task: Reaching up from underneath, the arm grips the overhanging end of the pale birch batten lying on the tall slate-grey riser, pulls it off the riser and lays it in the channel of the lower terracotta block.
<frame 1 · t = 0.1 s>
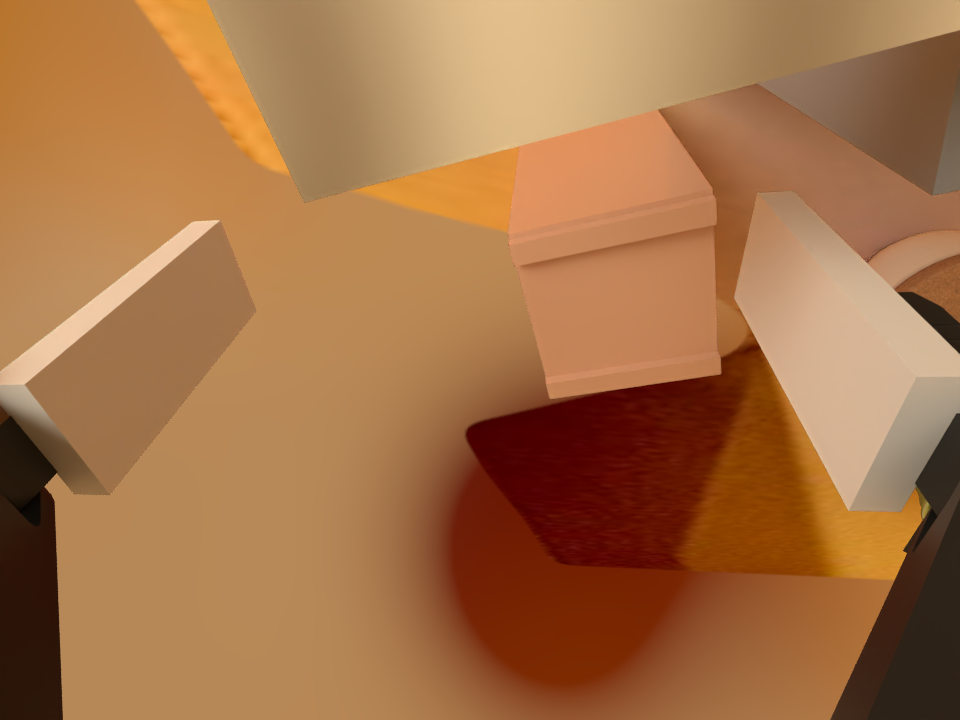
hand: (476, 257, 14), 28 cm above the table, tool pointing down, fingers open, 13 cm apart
terracotta cradle: (590, 166, 39), on the table
lidded jar: (900, 272, 42), on the table
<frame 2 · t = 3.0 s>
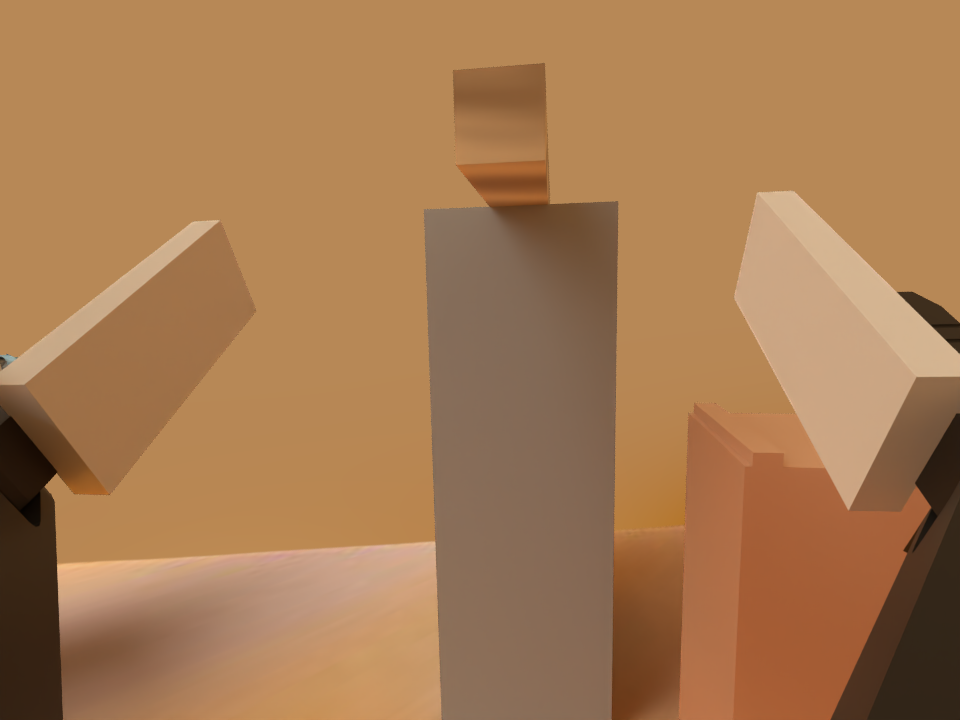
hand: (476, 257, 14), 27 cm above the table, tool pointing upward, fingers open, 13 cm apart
slate riser: (530, 640, 40), on the table
birch batten: (522, 213, 31), point 30 cm above the table, touching slate riser
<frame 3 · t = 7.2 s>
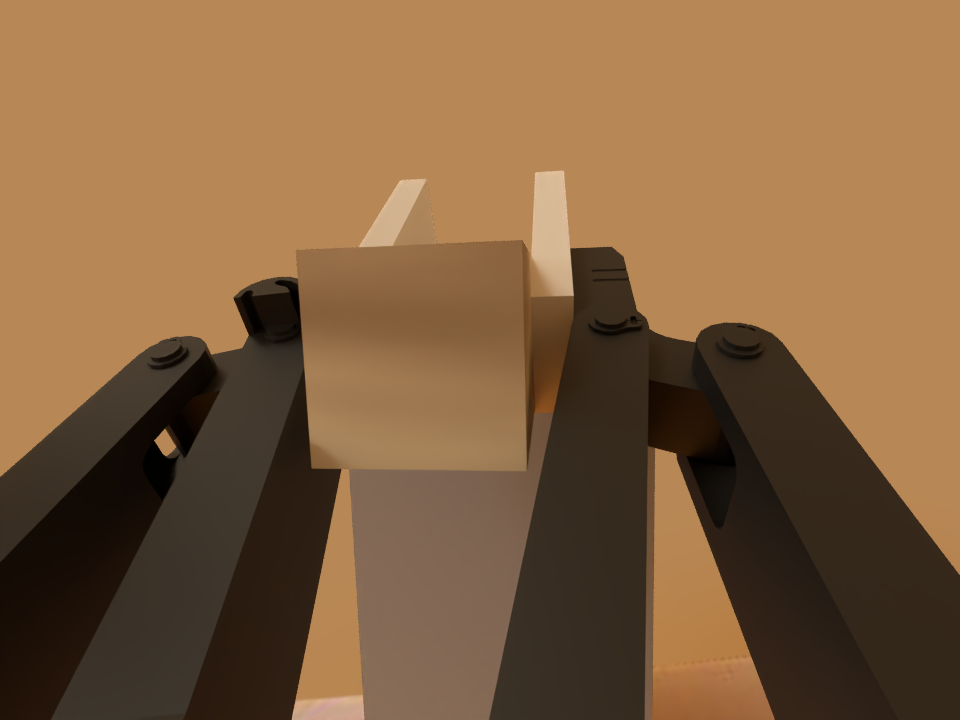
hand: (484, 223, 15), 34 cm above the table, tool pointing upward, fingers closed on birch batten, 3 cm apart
birch batten: (501, 356, 20), point 30 cm above the table, touching gripper, slate riser
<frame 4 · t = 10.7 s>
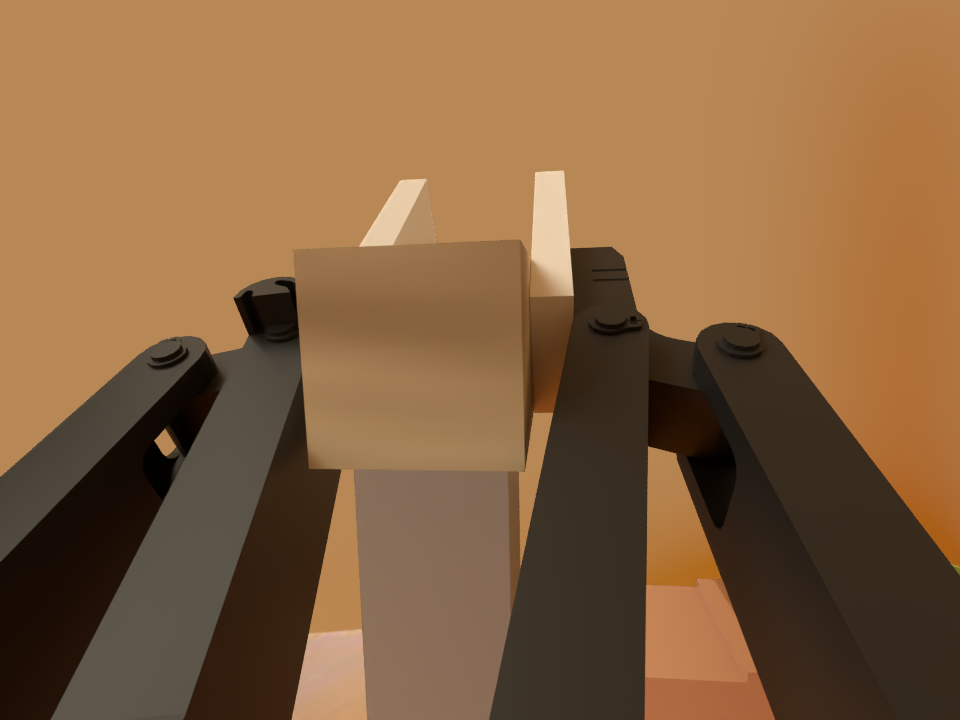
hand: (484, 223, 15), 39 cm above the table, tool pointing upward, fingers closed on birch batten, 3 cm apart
birch batten: (500, 355, 20), point 35 cm above the table, touching gripper
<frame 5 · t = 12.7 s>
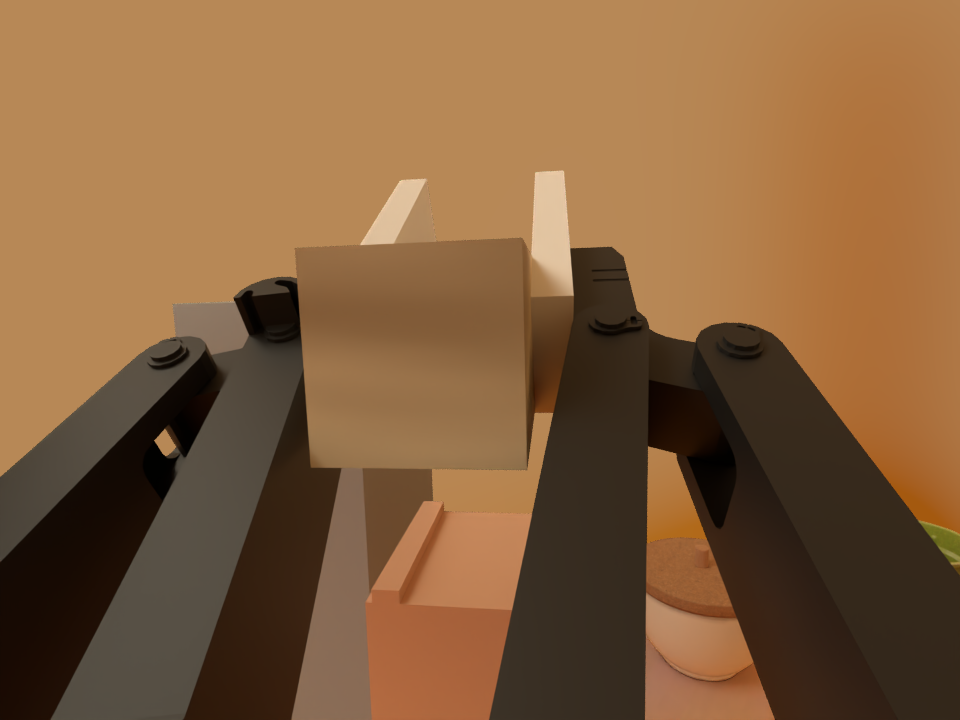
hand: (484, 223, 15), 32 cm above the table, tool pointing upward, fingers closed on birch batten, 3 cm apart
slate riser: (349, 708, 40), on the table
plant pot: (900, 632, 47), on the table
birch batten: (501, 355, 20), point 28 cm above the table, touching gripper
lidded jar: (699, 657, 45), on the table
when the fingers open (25 cm above the table, at t = 14.6 s): birch batten stays where it is, resting on terracotta cradle.
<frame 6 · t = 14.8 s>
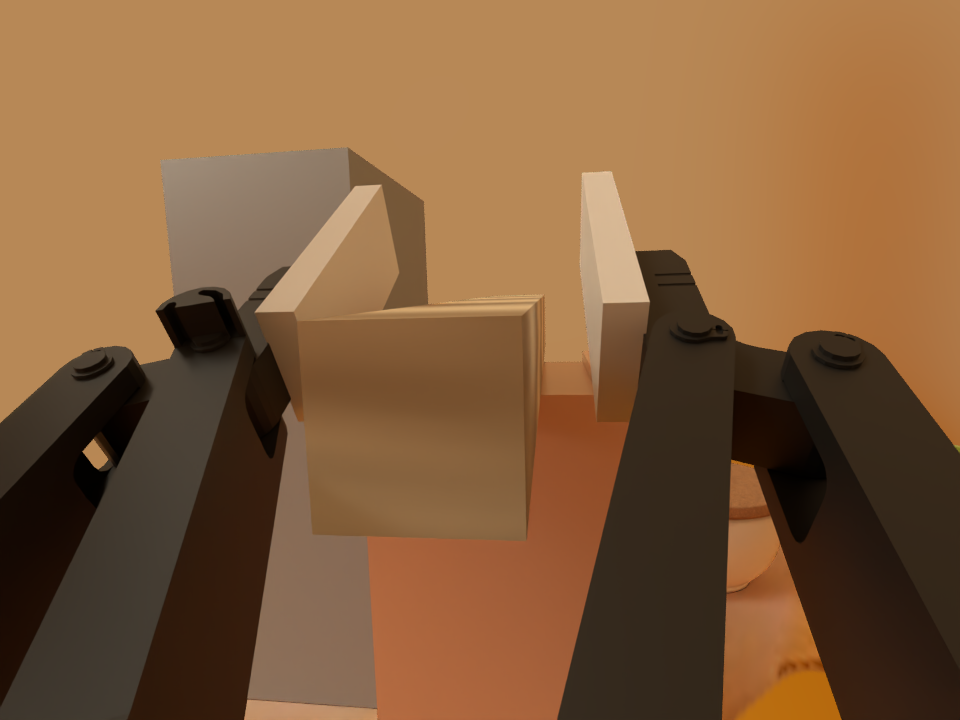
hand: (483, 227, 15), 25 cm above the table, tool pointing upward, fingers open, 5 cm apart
slate riser: (347, 618, 39), on the table
birch batten: (501, 380, 20), point 20 cm above the table, touching terracotta cradle
lidded jar: (707, 574, 43), on the table
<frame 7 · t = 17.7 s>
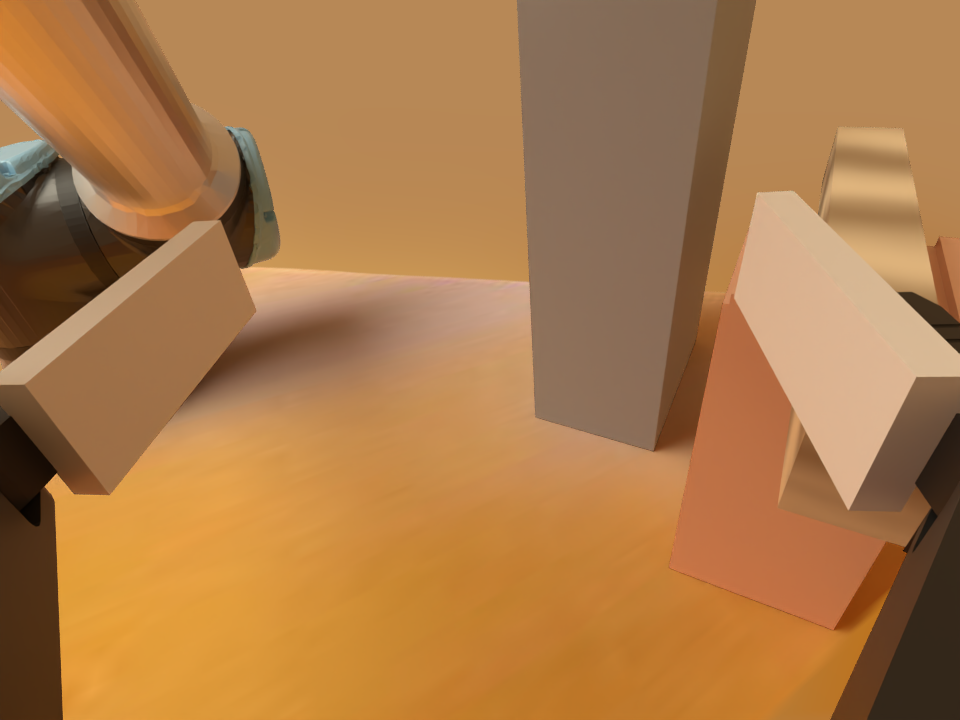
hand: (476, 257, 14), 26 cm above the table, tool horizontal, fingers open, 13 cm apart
slate riser: (620, 376, 50), on the table
terracotta cradle: (754, 543, 35), on the table
birch batten: (849, 287, 23), point 19 cm above the table, touching terracotta cradle
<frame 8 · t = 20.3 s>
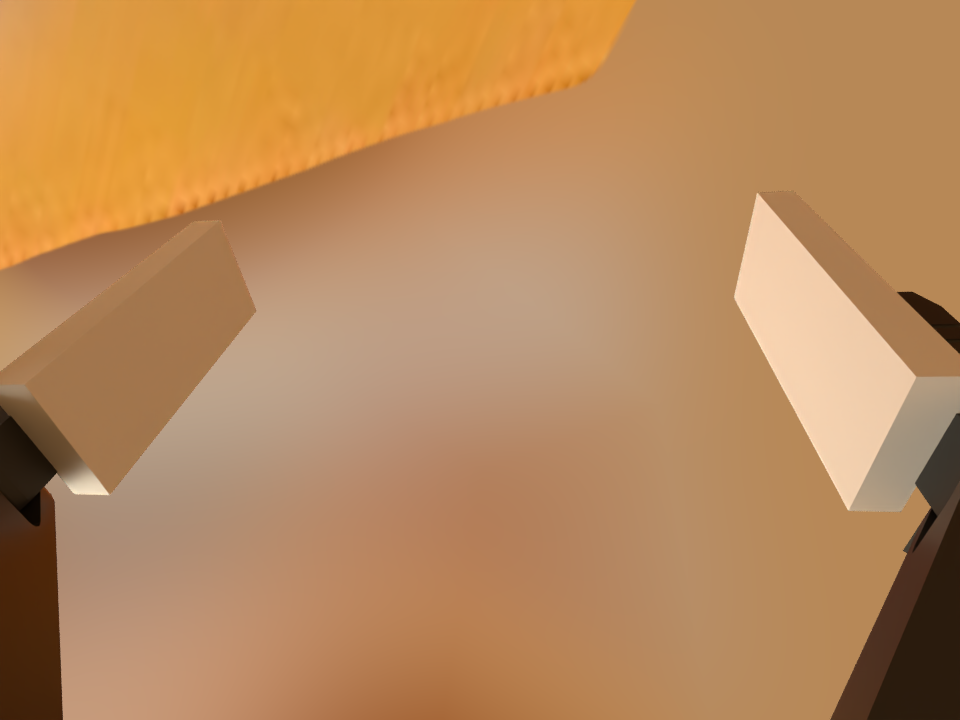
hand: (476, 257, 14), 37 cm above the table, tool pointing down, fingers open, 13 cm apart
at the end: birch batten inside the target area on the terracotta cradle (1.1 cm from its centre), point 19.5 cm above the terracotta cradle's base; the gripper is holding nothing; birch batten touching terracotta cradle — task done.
